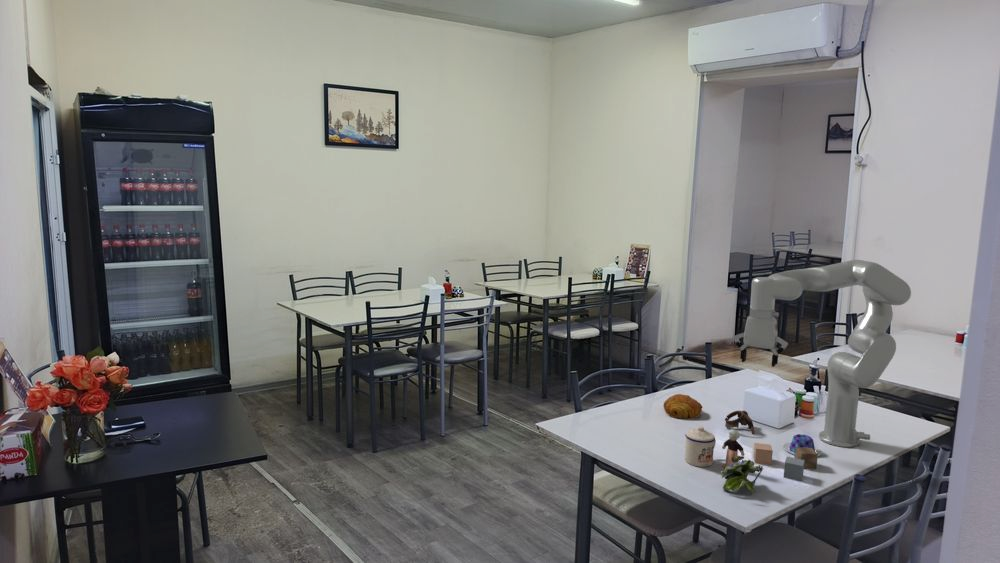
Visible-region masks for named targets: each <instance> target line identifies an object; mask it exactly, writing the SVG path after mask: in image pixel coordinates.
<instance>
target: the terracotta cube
mask: <svg viewBox="0 0 1000 563" xmlns="http://www.w3.org/2000/svg"><path fill="white" fill-rule="evenodd" d="M773 453H774V452H773V447H772V444H768V443H760V442H754V444H753V455H752V456H753V457H752V458H753V462H754V464H758V465H768V466H772V463H773Z"/></svg>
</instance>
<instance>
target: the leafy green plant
mask: <svg viewBox="0 0 1000 563" xmlns="http://www.w3.org/2000/svg"><path fill="white" fill-rule="evenodd" d="M744 459H745V455H744V456H742V455H738V456H737V457H732V460H731V461H733V462H736V463H735V464H732V463H731V465H729V464H728V465H729V466H726V467H724V468H725V469H724V471H720V473H721V474H722V476H721V479H724V480H725V481H724V484H723V486H722V490H723V491H724V492H725V491H726V492H727V491H733V492H734V491H737V490H740V489H741V488H742V487H744V486H746V487H747V489H749V491H750V495H752V494H753V493H755V492H756V490H755V488H754V486H755V484H756V481H757V479H758V477H759V476H760V474H761V473H762V472H763V470H764V467H763V465H762V464H758V465H755V462H754V460H751V459H747V460H746V459H745V460H744ZM756 472H758V474H757V475H756V477H755V478H754V479H753V480H749V479H748V476H749V474H755V473H756Z"/></svg>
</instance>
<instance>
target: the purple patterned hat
mask: <svg viewBox="0 0 1000 563" xmlns="http://www.w3.org/2000/svg"><path fill="white" fill-rule="evenodd" d="M796 447H804V448H812V449H813V450H814V451H815V450H816V452H817V454H818V457H820V456H821V455H822V454H823V452H822V450H820V449H819V448H818V447H816V446H815V442H814V439H813V438H812V436H809V435H806V434H801V433H800V434H798V433H797V434H794V435H793V437H792V440H791V442H787V443H784V444H783V445H782V448H783V449H784V450H785V451H786V452H788V453H790V454H791V455H795V450H796Z"/></svg>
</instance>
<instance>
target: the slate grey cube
mask: <svg viewBox="0 0 1000 563" xmlns="http://www.w3.org/2000/svg"><path fill="white" fill-rule="evenodd" d="M804 461H805V460H801V459H797V458H795V457H791V456H786V458H785V461H784V467H783V478H785V479H789V480H793V481H798V482H802V481H803V477H804V472H805V468H804Z"/></svg>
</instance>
